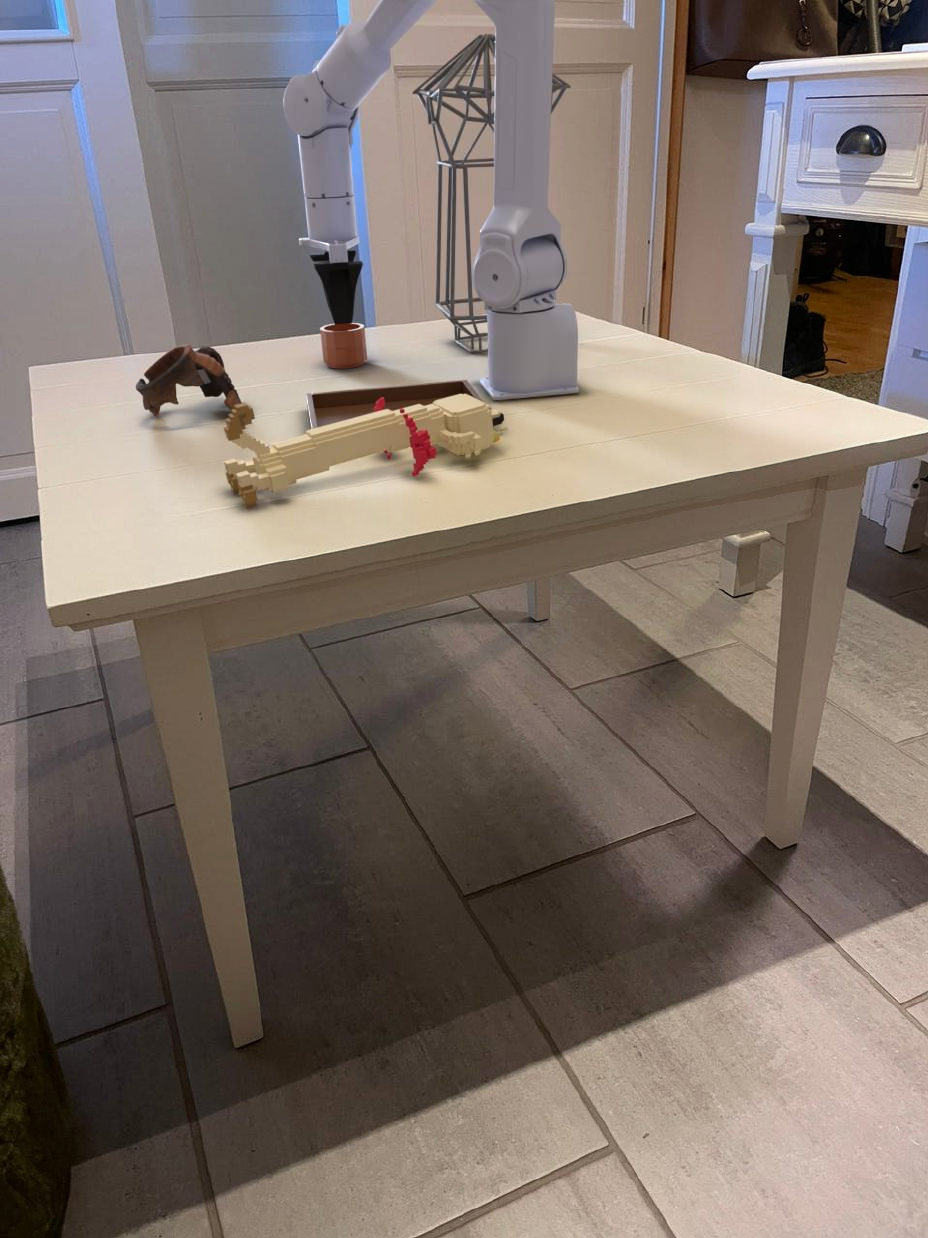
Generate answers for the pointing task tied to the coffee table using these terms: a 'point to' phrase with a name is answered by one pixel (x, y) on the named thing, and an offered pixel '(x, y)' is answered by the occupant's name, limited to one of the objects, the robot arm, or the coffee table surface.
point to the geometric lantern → (463, 165)
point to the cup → (343, 345)
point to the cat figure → (359, 441)
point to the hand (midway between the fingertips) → (340, 317)
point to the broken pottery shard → (186, 377)
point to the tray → (362, 401)
